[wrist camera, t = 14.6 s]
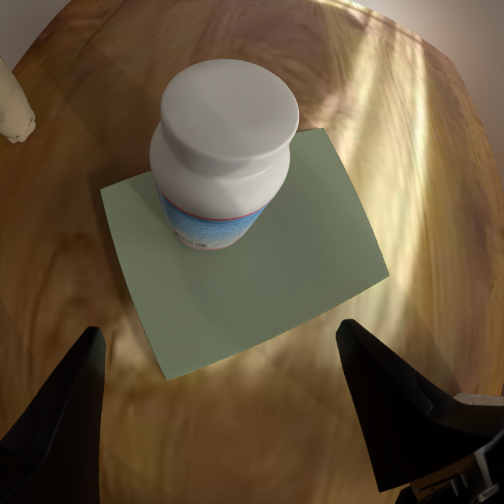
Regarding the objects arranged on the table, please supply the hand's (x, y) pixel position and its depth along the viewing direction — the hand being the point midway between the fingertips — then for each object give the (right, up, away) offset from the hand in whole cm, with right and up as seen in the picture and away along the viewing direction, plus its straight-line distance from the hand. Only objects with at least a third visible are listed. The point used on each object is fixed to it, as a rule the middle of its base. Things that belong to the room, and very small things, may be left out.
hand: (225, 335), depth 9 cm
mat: (+1, +4, +11) cm, 11 cm away
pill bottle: (-2, +6, +10) cm, 11 cm away
